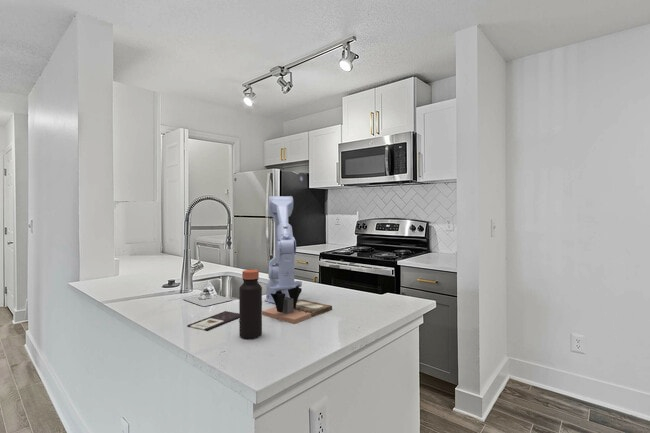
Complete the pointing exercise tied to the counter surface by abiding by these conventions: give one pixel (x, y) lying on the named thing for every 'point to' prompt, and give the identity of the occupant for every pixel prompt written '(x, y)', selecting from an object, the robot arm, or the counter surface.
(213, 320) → the chocolate bar
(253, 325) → the bottle
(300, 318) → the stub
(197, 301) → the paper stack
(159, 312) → the counter surface
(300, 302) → the board
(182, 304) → the counter surface
